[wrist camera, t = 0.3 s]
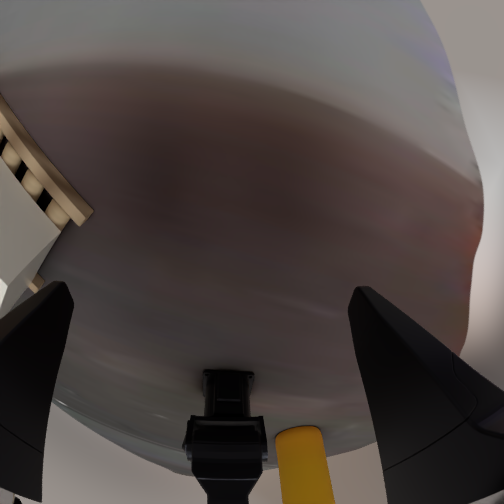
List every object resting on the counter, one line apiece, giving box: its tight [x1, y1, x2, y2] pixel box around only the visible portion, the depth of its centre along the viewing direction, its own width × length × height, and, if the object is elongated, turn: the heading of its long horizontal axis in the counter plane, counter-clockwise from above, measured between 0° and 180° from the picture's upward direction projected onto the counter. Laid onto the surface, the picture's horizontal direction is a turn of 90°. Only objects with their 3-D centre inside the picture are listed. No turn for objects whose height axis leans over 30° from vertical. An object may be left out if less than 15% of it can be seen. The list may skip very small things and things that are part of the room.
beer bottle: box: [276, 426, 335, 504], centre depth 32 cm, size 9×9×29 cm
